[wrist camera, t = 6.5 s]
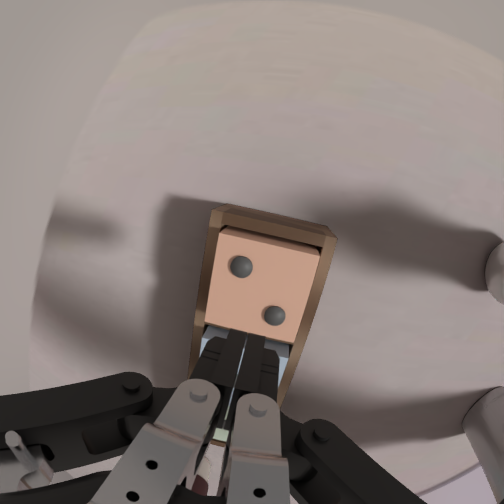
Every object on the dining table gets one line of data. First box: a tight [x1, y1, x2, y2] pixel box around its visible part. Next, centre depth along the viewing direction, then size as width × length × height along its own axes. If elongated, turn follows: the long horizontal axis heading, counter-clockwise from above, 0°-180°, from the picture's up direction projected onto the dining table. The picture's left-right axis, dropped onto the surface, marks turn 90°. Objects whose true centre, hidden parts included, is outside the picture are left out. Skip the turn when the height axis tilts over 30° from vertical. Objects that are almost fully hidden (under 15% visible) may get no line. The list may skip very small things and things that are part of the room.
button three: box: [199, 325, 289, 406], centre depth 22 cm, size 6×6×3 cm
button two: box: [205, 226, 320, 343], centre depth 20 cm, size 6×6×3 cm
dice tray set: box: [187, 204, 338, 447], centre depth 24 cm, size 24×9×5 cm, turn 168°
